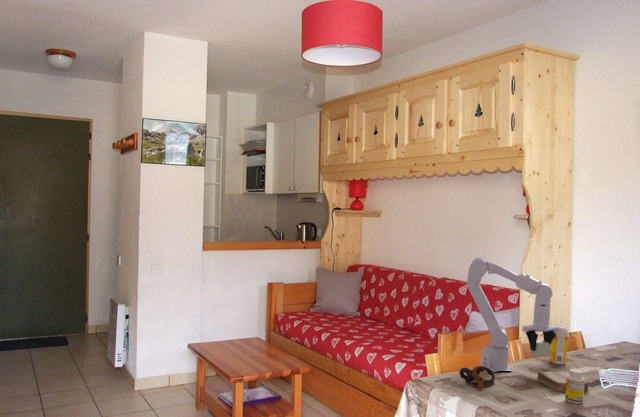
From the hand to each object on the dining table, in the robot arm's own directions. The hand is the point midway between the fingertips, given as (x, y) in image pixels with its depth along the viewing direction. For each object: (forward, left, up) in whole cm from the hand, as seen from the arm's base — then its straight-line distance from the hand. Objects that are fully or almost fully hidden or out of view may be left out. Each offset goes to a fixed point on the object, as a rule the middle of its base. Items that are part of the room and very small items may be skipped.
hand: (539, 350), depth 212 cm
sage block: (0, 0, -2) cm, 2 cm away
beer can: (+19, +15, -10) cm, 26 cm away
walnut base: (+2, -12, -9) cm, 15 cm away
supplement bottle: (-4, -27, -10) cm, 29 cm away
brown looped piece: (-32, -12, -10) cm, 35 cm away
